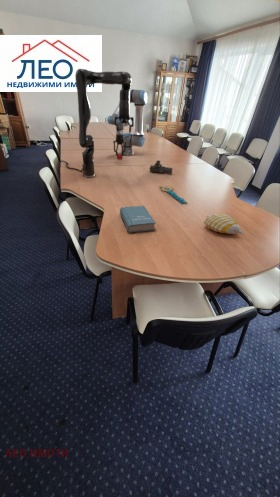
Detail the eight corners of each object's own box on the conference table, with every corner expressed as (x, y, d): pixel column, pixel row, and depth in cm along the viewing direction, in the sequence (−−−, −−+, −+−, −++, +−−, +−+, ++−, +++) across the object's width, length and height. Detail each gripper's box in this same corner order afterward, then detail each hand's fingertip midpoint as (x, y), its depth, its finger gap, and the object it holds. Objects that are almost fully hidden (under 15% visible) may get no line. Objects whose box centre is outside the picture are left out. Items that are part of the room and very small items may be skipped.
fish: (254, 225, 128) (232, 232, 118) (249, 236, 132) (228, 244, 123) (221, 208, 144) (199, 213, 134) (217, 218, 149) (196, 224, 139)
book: (154, 230, 131) (155, 222, 128) (128, 232, 126) (128, 225, 124) (143, 212, 148) (143, 205, 145) (119, 214, 144) (120, 207, 141)
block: (117, 159, 229) (117, 155, 226) (117, 158, 232) (117, 153, 229) (121, 159, 229) (121, 155, 226) (121, 158, 232) (121, 154, 230)
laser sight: (171, 175, 213) (172, 165, 207) (148, 172, 216) (149, 162, 210) (172, 172, 221) (173, 162, 215) (150, 169, 224) (150, 159, 218)
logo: (159, 187, 187) (159, 186, 186) (169, 186, 189) (169, 185, 189) (175, 204, 161) (175, 203, 161) (187, 203, 164) (187, 202, 163)
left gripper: (114, 107, 155) (114, 132, 165) (134, 108, 156) (133, 133, 166) (114, 106, 161) (114, 131, 171) (134, 107, 162) (133, 132, 172)
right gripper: (110, 134, 212) (111, 159, 226) (128, 135, 214) (127, 160, 228) (111, 133, 218) (111, 157, 232) (128, 134, 220) (127, 158, 234)
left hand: (124, 132), depth 168 cm, fingers open, 8 cm apart
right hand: (119, 159), depth 230 cm, fingers closed on block, 4 cm apart
